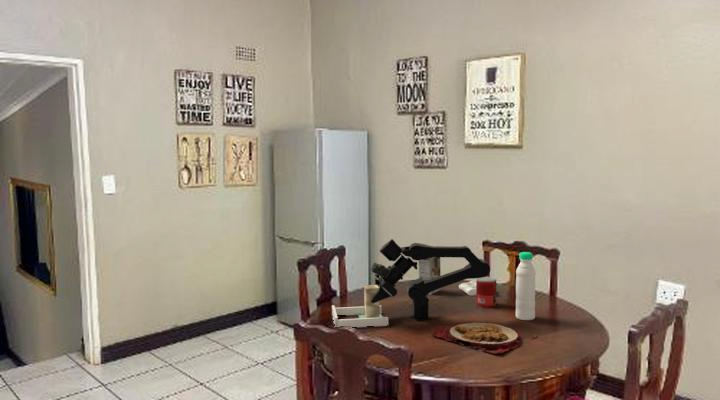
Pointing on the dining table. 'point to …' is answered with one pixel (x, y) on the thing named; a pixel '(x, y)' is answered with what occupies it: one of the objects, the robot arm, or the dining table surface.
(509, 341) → the plate with food
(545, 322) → the dining table surface
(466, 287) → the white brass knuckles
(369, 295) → the beige cylinder
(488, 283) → the canned food
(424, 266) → the coffee box
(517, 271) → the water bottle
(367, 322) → the tray
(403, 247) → the robot arm
